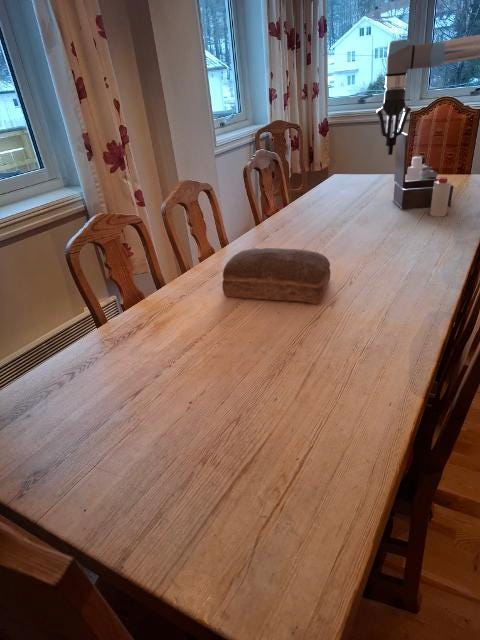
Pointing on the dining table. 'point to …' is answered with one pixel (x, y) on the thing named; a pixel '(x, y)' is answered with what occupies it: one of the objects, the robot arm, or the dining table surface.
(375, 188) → the dining table surface
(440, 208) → the bottle
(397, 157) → the lid
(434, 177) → the food container
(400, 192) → the open box
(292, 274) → the bread
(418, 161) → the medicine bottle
